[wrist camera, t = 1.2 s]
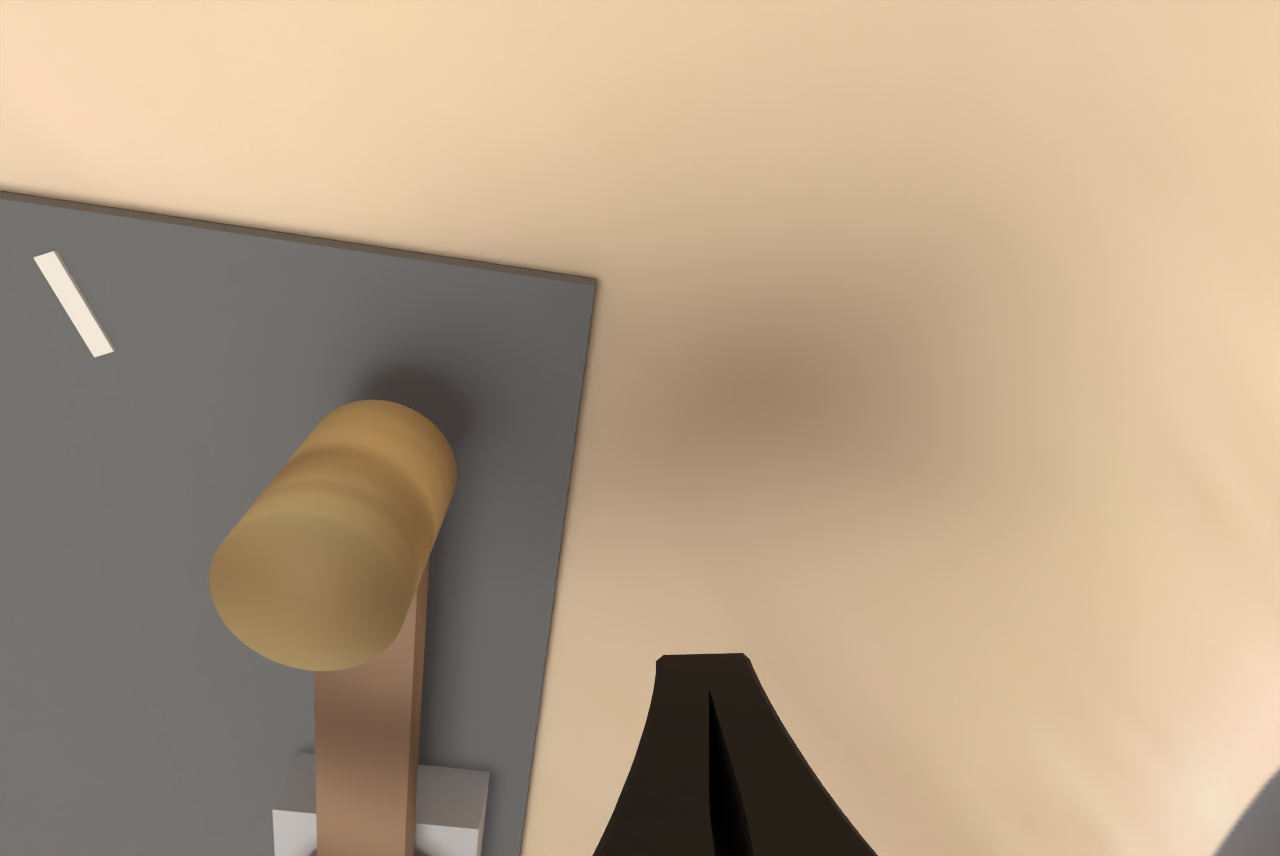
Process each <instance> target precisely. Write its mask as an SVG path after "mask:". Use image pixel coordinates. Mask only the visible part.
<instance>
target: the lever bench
mask: <svg viewBox="0 0 1280 856" xmlns="http://www.w3.org/2000/svg"><path fill="white" fill-rule="evenodd" d="M595 284H596V279H593V278H586V277H579V276H573V275H566V274H559V273H552V272H545V271H539V270H532V269H525V268H518V267H511V266H505V265H498V264H491V263H484V262H477V261H471V260H464V259H457V258H450V257H443V256H437V255H430V254H423V253H416V252H409V251H403V250H396V249H389V248H382V247H375V246H369V245H362V244H355V243H348V242H341V241H335V240H328V239H321V238H314V237H308V236H301V235H294V234H287V233H280V232H274V231H267V230H260V229H253V228H246V227H240V226H233V225H226V224H219V223H212V222H206V221H199V220H192V219H185V218H178V217H172V216H165V215H158V214H151V213H144V212H138V211H131V210H124V209H117V208H110V207H104V206H97V205H90V204H83V203H76V202H70V201H63V200H56V199H49V198H42V197H36V196H29V195H22V194H15V193H8V192H2V191H0V856H315V855H317V826H316V769H315V713H314V671H310V670H304V669H297V668H294V667H290V666H286V665H283V664H280V663H278V662H275V661H272V660H270V659H268V658H266V657H264V656H262V655H260V654H259V653H257V652H255V651H254V650H252V649H251V648H249V647H248V646H247V645H245V644H244V643H243V642H242V641H241V640H239V639H238V638H237V637H236V636H235V635H234V634H233V633H232V632H231V631H230V629H229V628H228V627H227V626H226V625H225V623H224V622H223V620H222V619H221V617H220V616H219V614H218V612H217V610H216V607H215V605H214V603H213V599H212V596H211V592H210V586H209V573H210V567H211V563H212V560H213V557H214V554H215V553H216V551H217V549H218V547H219V546H220V544H221V543H222V542H223V541H224V539H225V538H226V537H227V536H228V534H229V533H230V532H231V531H232V529H233V528H234V527H235V526H236V525H237V523H238V522H239V521H240V520H241V518H242V517H243V516H244V515H245V513H246V512H247V511H248V510H249V508H250V507H251V506H252V505H253V504H254V502H255V501H256V500H257V499H258V497H259V496H260V495H261V494H262V492H263V491H264V490H265V489H266V487H267V486H268V485H269V484H270V483H271V481H272V480H273V479H274V478H275V476H276V475H277V474H278V473H279V471H280V470H281V469H282V468H283V466H284V465H285V464H286V463H287V462H288V460H289V459H290V458H291V457H292V455H293V454H294V453H295V452H296V450H297V449H298V448H299V447H300V445H301V444H302V443H303V442H304V441H305V439H306V438H307V437H308V436H309V434H310V433H311V432H312V431H313V429H314V428H315V427H316V426H317V424H318V423H319V422H320V421H321V420H322V419H323V418H324V417H325V416H326V415H327V414H328V413H330V412H331V411H333V410H335V409H336V408H338V407H340V406H343V405H345V404H348V403H351V402H355V401H361V400H384V401H390V402H395V403H398V404H401V405H404V406H406V407H409V408H411V409H413V410H415V411H417V412H418V413H420V414H422V415H423V416H425V417H426V418H427V419H429V420H430V421H431V422H432V423H433V424H434V425H435V426H436V427H437V428H438V429H439V430H440V431H441V432H442V434H443V435H444V436H445V438H446V439H447V441H448V442H449V444H450V446H451V449H452V451H453V453H454V457H455V460H456V466H457V482H456V487H455V491H454V494H453V496H452V499H451V502H450V504H449V507H448V509H447V512H446V515H445V517H444V520H443V522H442V525H441V527H440V530H439V533H438V535H437V538H436V540H435V543H434V546H433V548H432V551H431V553H430V556H429V573H428V592H427V610H426V629H425V647H424V665H423V684H422V702H421V721H420V739H419V758H418V776H417V795H416V813H415V832H414V850H413V855H414V856H519V854H520V847H521V839H522V832H523V824H524V817H525V809H526V802H527V794H528V787H529V779H530V772H531V764H532V757H533V749H534V742H535V734H536V727H537V719H538V712H539V704H540V697H541V689H542V682H543V674H544V667H545V659H546V652H547V644H548V637H549V629H550V622H551V614H552V607H553V599H554V592H555V584H556V577H557V569H558V562H559V554H560V547H561V539H562V532H563V524H564V517H565V509H566V502H567V494H568V487H569V479H570V472H571V464H572V457H573V449H574V442H575V434H576V427H577V419H578V412H579V404H580V397H581V389H582V382H583V374H584V367H585V359H586V352H587V344H588V337H589V329H590V322H591V314H592V307H593V299H594V292H595Z"/></svg>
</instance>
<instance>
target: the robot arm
mask: <svg viewBox="0 0 1280 856" xmlns="http://www.w3.org/2000/svg"><path fill="white" fill-rule="evenodd" d="M593 856H878V855H877V854H876V853H875V852H874V850H873V849H872V848H871V847H870V846H869V844H868V843H867V842H866V841H865V840H864V839H863V837H862V836H861V835H860V834H859V832H858V831H857V830H856V829H855V827H854V826H853V825H852V824H851V822H850V821H849V820H848V818H847V817H846V816H845V814H844V813H843V812H842V811H841V809H840V808H839V807H838V805H837V804H836V802H835V801H834V800H833V798H832V797H831V796H830V794H829V793H828V792H827V790H826V789H825V787H824V786H823V785H822V783H821V782H820V780H819V779H818V778H817V776H816V775H815V773H814V772H813V770H812V769H811V767H810V766H809V764H808V763H807V761H806V760H805V758H804V757H803V755H802V754H801V752H800V750H799V749H798V747H797V746H796V744H795V743H794V741H793V740H792V738H791V736H790V735H789V733H788V732H787V730H786V728H785V727H784V725H783V723H782V722H781V720H780V718H779V716H778V715H777V713H776V711H775V709H774V708H773V706H772V704H771V702H770V701H769V699H768V697H767V695H766V693H765V691H764V689H763V687H762V685H761V683H760V681H759V679H758V677H757V675H756V673H755V671H754V668H753V666H752V664H751V661H750V659H749V658H748V657H747V656H746V655H744V654H743V653H727V654H687V655H663V656H662V657H661V658H659V659H658V660H657V661H656V677H655V684H654V690H653V695H652V700H651V704H650V708H649V712H648V716H647V720H646V724H645V727H644V730H643V733H642V736H641V740H640V743H639V746H638V749H637V752H636V755H635V758H634V761H633V764H632V767H631V769H630V772H629V774H628V777H627V779H626V782H625V784H624V787H623V789H622V792H621V794H620V797H619V799H618V802H617V804H616V807H615V809H614V811H613V814H612V816H611V818H610V820H609V823H608V825H607V827H606V829H605V831H604V834H603V836H602V838H601V840H600V842H599V844H598V846H597V848H596V850H595V852H594V854H593Z"/></svg>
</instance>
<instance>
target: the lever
mask: <svg viewBox="0 0 1280 856" xmlns="http://www.w3.org/2000/svg"><path fill="white" fill-rule="evenodd" d="M456 482H457V466H456V460H455V457H454V453H453V451H452V449H451V446H450V444H449V442H448V441H447V439H446V438H445V436H444V435H443V434H442V432H441V431H440V430H439V429H438V428H437V427H436V426H435V425H434V424H433V423H432V422H431V421H430V420H429V419H427V418H426V417H425V416H423V415H422V414H420V413H418V412H417V411H415V410H413V409H411V408H409V407H406V406H404V405H401V404H398V403H395V402H390V401H384V400H361V401H355V402H351V403H348V404H345V405H343V406H340V407H338V408H336V409H335V410H333V411H331V412H330V413H328V414H327V415H326V416H325V417H324V418H323V419H322V420H321V421H320V422H319V423H318V424H317V426H316V427H315V428H314V429H313V431H312V432H311V433H310V434H309V436H308V437H307V438H306V439H305V441H304V442H303V443H302V444H301V445H300V447H299V448H298V449H297V450H296V452H295V453H294V454H293V455H292V457H291V458H290V459H289V460H288V462H287V463H286V464H285V465H284V466H283V468H282V469H281V470H280V471H279V473H278V474H277V475H276V476H275V478H274V479H273V480H272V481H271V483H270V484H269V485H268V486H267V487H266V489H265V490H264V491H263V492H262V494H261V495H260V496H259V497H258V499H257V500H256V501H255V502H254V504H253V505H252V506H251V507H250V508H249V510H248V511H247V512H246V513H245V515H244V516H243V517H242V518H241V520H240V521H239V522H238V523H237V525H236V526H235V527H234V528H233V529H232V531H231V532H230V533H229V534H228V536H227V537H226V538H225V539H224V541H223V542H222V543H221V544H220V546H219V547H218V549H217V551H216V553H215V554H214V557H213V560H212V563H211V567H210V573H209V586H210V592H211V596H212V599H213V603H214V605H215V607H216V610H217V612H218V614H219V616H220V617H221V619H222V620H223V622H224V623H225V625H226V626H227V627H228V628H229V629H230V631H231V632H232V633H233V634H234V635H235V636H236V637H237V638H238V639H239V640H241V641H242V642H243V643H244V644H245V645H247V646H248V647H249V648H251V649H252V650H254V651H255V652H257V653H259V654H260V655H262V656H264V657H266V658H268V659H270V660H272V661H275V662H278V663H280V664H283V665H286V666H290V667H294V668H297V669H304V670H310V671H314V713H315V769H316V826H317V855H315V856H414V855H413V850H414V832H415V813H416V795H417V776H418V758H419V739H420V721H421V702H422V684H423V665H424V647H425V629H426V610H427V592H428V573H429V556H430V553H431V551H432V548H433V546H434V543H435V540H436V538H437V535H438V533H439V530H440V527H441V525H442V522H443V520H444V517H445V515H446V512H447V509H448V507H449V504H450V502H451V499H452V496H453V494H454V491H455V487H456Z"/></svg>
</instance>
